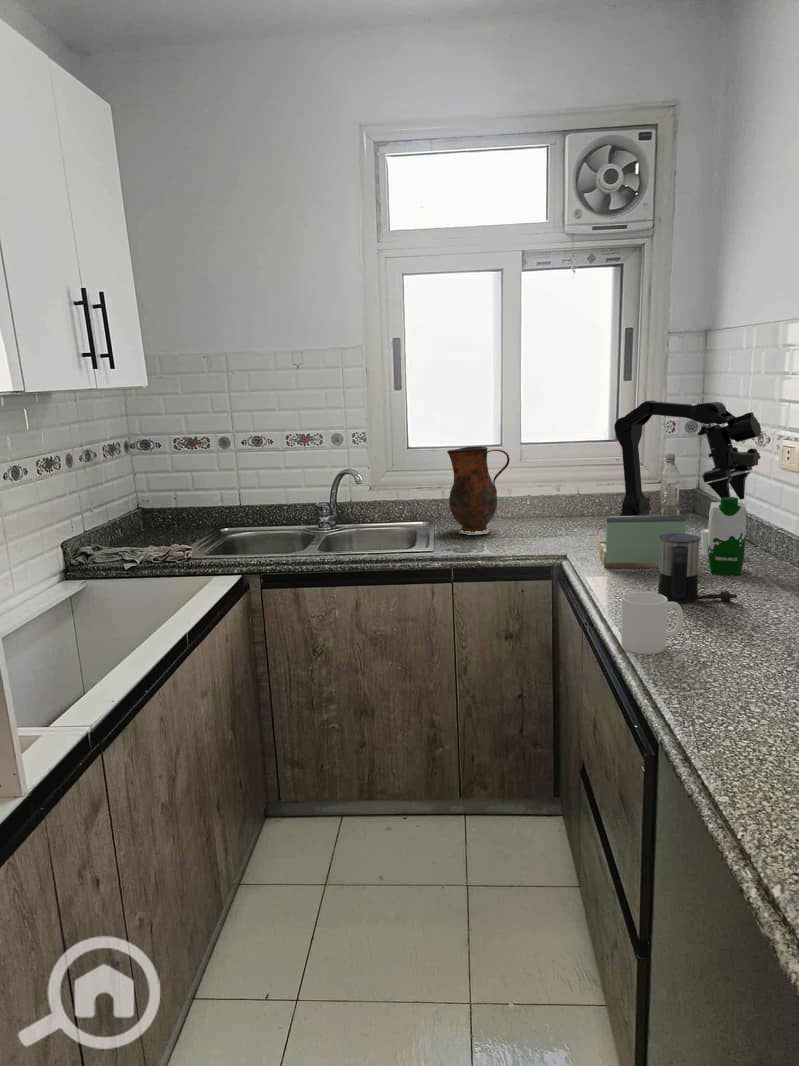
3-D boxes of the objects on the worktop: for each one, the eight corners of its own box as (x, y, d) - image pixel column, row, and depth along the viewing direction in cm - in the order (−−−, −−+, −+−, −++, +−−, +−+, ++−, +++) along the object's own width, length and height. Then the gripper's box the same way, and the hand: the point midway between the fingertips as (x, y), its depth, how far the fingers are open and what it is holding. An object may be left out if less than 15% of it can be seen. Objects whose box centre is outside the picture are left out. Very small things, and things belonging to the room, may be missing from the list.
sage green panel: (605, 561, 196) (606, 515, 193) (683, 561, 192) (684, 514, 190) (606, 563, 194) (607, 517, 191) (684, 562, 191) (686, 515, 188)
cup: (614, 641, 142) (615, 593, 140) (672, 636, 143) (673, 588, 141) (631, 657, 134) (632, 605, 132) (692, 651, 135) (694, 601, 133)
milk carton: (708, 575, 185) (711, 499, 180) (705, 566, 193) (708, 493, 189) (745, 576, 182) (749, 499, 177) (741, 567, 190) (745, 494, 186)
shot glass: (728, 557, 201) (729, 533, 200) (702, 557, 202) (703, 533, 201) (722, 551, 208) (723, 528, 206) (697, 551, 209) (698, 528, 208)
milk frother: (651, 592, 173) (653, 533, 169) (717, 590, 172) (720, 530, 169) (671, 611, 159) (673, 547, 156) (743, 608, 158) (746, 544, 155)
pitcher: (450, 528, 258) (447, 446, 252) (509, 527, 256) (508, 443, 249) (449, 538, 242) (446, 450, 235) (512, 537, 239) (510, 448, 233)
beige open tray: (599, 557, 208) (599, 540, 207) (674, 556, 204) (675, 539, 203) (604, 567, 196) (604, 550, 195) (684, 567, 193) (684, 549, 192)
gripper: (736, 442, 183) (752, 500, 182) (763, 435, 195) (778, 490, 195) (695, 453, 191) (710, 509, 191) (724, 446, 203) (737, 499, 203)
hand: (735, 501), depth 195 cm, fingers open, 9 cm apart
